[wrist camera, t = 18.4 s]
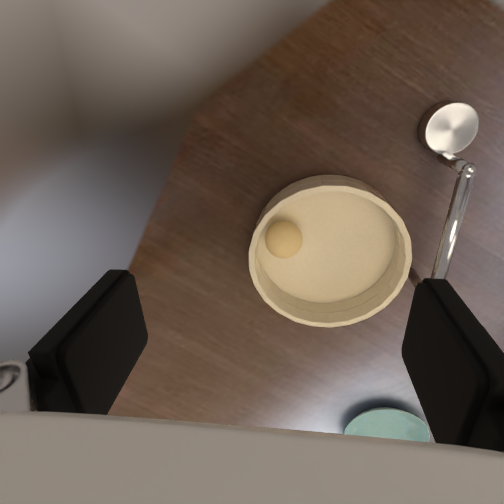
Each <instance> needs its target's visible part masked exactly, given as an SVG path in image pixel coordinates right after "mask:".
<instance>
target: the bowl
mask: <svg viewBox="0 0 504 504" xmlns="http://www.w3.org/2000/svg"><path fill="white" fill-rule="evenodd" d="M279 221H288V222H291V223H293V224H295V225H296V226H297V227H298V228H299V229H300V231H301V233H302V238H303V241H302V246H301V248H300V250H299V251H298V253H296V254H295V255H294V256H292V257H290V258H278V257H275V256H274V255H272V254H271V253H270V252H269V251H268V249H267V247H266V244H265V235H266V232H267V230H268V229H269V228H270V226H272V225H273V224H274V223H276V222H279ZM411 261H412V249H411V239H410V236H409V234H408V231H407V229H406V227H405V224H404V222H403V220H402V219H401V217H400V216H399V215H398V214H397V212H396V211H395V210H394V209H393V207H392V206H391V205H390V204H389V203H388V202H387V201H386V199H385V198H384V197H383V196H382V195H381V194H380V193H379V192H378V191H376V190H375V189H374V188H372V187H371V186H369V185H368V184H366V183H364V182H362V181H360V180H357V179H354V178H351V177H347V176H342V175H317V176H312V177H308V178H305V179H301V180H299V181H297V182H294V183H292V184H290V185H289V186H287V187H285V188H284V189H282V190H281V191H280V192H279V193H277V194H276V195H275V196H274V197H273V198H272V199H271V200H270V201H269V202H268V204H267V205H266V206H265V208H264V209H263V211H262V213H261V215H260V217H259V218H258V220H257V223H256V227H255V230H254V233H253V237H252V240H251V244H250V248H249V270H250V274H251V277H252V280H253V283H254V285H255V287H256V289H257V290H258V292H259V293H260V295H261V296H262V298H263V299H264V301H265V302H267V303H268V304H269V305H270V306H271V307H272V308H273V309H274V310H275V311H277V312H278V313H280V314H282V315H283V316H285V317H287V318H289V319H291V320H293V321H296V322H299V323H303V324H306V325H310V326H319V327H336V326H344V325H349V324H353V323H356V322H359V321H361V320H364V319H367V318H369V317H371V316H372V315H374V314H375V313H377V312H379V311H380V310H382V309H383V308H384V307H386V306H387V305H388V304H389V303H390V302H391V301H392V300H393V299H394V298H395V297H396V296H397V295H398V293H399V292H400V290H401V288H402V286H403V285H404V283H405V281H406V279H407V278H408V274H409V270H410V266H411Z"/></svg>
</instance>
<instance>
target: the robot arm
mask: <svg viewBox="0 0 504 504" xmlns="http://www.w3.org/2000/svg"><path fill="white" fill-rule="evenodd" d="M147 339H148V334H147V329H146V325H145V321H144V316H143V312H142V308H141V303H140V299H139V295H138V291H137V286H136V282H135V278H134V276H133V275H132V274H130V273H129V272H128V271H127V270H109V271H107V272H106V273H105V274H104V275H103V277H101V279H100V280H99V281H98V282H97V283H96V284H95V285H94V286H93V287H92V288H91V289H90V290H89V291H88V292H87V293H86V294H85V295H84V296H83V297H82V298H81V299H80V300H79V301H78V302H77V303H76V304H75V305H74V306H73V307H72V308H71V309H70V310H69V311H68V312H67V313H66V314H65V315H64V316H63V317H62V318H61V319H60V320H59V321H58V322H57V323H56V324H55V325H54V326H53V327H52V329H50V330H49V332H48V333H47V334H46V335H45V336H44V337H43V338H42V339H41V340H40V341H39V342H38V343H37V344H36V345H35V346H34V347H33V348H32V349H31V350H30V351H29V352H28V354H29V356H30V359H28V360H27V362H26V363H24V362H22V361H20V360H6V361H2V362H0V504H504V353H503V352H502V350H501V349H500V348H499V346H498V345H497V344H496V343H495V341H494V340H493V339H492V337H491V336H490V335H489V333H488V332H487V331H486V330H485V328H484V327H483V326H482V325H481V324H480V322H479V321H478V320H477V319H476V317H475V316H474V315H473V313H472V312H471V311H470V310H469V308H468V307H467V306H466V304H465V303H464V302H463V300H462V299H461V298H460V297H459V295H458V294H457V293H456V291H455V290H454V289H453V287H452V286H451V285H450V284H449V282H448V281H447V280H446V279H435V278H425V279H424V280H423V281H422V283H417V285H416V288H415V292H414V296H413V301H412V305H411V309H410V314H409V318H408V322H407V327H406V331H405V336H404V340H403V344H402V358H403V361H404V363H405V366H406V368H407V371H408V373H409V376H410V378H411V381H412V383H413V386H414V389H415V391H416V394H417V396H418V399H419V401H420V404H421V406H422V409H423V411H424V414H425V416H426V419H427V422H428V424H429V427H430V429H431V432H432V434H433V437H434V439H435V442H436V443H430V442H421V441H411V440H401V439H392V438H380V437H369V436H357V435H346V434H335V433H323V432H312V431H300V430H289V429H277V428H265V427H253V426H240V425H228V424H216V423H203V422H191V421H178V420H165V419H152V418H139V417H126V416H113V415H107V413H108V412H109V410H110V408H111V406H112V405H113V403H114V401H115V399H116V397H117V396H118V394H119V392H120V390H121V388H122V387H123V385H124V383H125V381H126V380H127V378H128V376H129V374H130V372H131V371H132V369H133V367H134V365H135V364H136V362H137V360H138V358H139V356H140V355H141V353H142V351H143V349H144V347H145V346H146V344H147Z"/></svg>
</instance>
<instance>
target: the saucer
mask: <svg viewBox="0 0 504 504" xmlns="http://www.w3.org/2000/svg"><path fill="white" fill-rule="evenodd" d="M344 434H346V435H357V436H369V437H380V438H392V439H401V440H411V441H421V442H429V438H430V433H429V429H428V427H427V425H426V424H425V423H424V422H423V421H422V420H421V419H420V418H418V417H417V416H415V415H413V414H411V413H409V412H406V411H403V410H400V409H395V408H387V407H382V408H374V409H370V410H367V411H365V412H363V413H361V414H359V415H358V416H356V417H355V418H354V419H353V420H352V421H351V422H350V423H349V424H348V425H347V426H346V428H345V431H344Z"/></svg>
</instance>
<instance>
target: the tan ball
mask: <svg viewBox="0 0 504 504" xmlns="http://www.w3.org/2000/svg"><path fill="white" fill-rule="evenodd" d="M302 241H303V238H302V233H301V231H300V229H299V228H298V227H297V226H296V225H295V224H293V223H291V222H288V221H279V222H276V223H274V224H273V225H272V226H270V228H269V229H268V230H267V232H266V235H265V244H266V247H267V249H268V251H269V252H270V253H271V254H272V255H274V256H275V257H278V258H290V257H292V256H294V255H295V254H296V253H298V251H299V250H300V248H301V246H302Z"/></svg>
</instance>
